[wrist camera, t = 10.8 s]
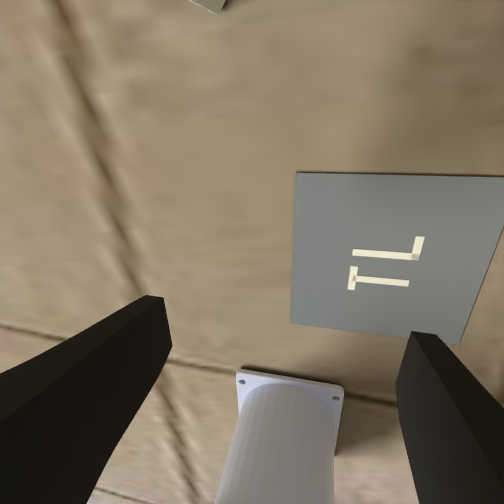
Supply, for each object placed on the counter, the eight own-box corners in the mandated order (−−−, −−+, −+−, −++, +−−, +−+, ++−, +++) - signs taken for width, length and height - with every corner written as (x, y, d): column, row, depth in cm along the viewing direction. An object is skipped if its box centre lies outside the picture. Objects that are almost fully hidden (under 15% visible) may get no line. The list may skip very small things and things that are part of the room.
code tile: (457, 343, 18) (458, 345, 18) (290, 322, 20) (290, 323, 20) (521, 177, 14) (522, 178, 14) (296, 172, 16) (295, 173, 16)
